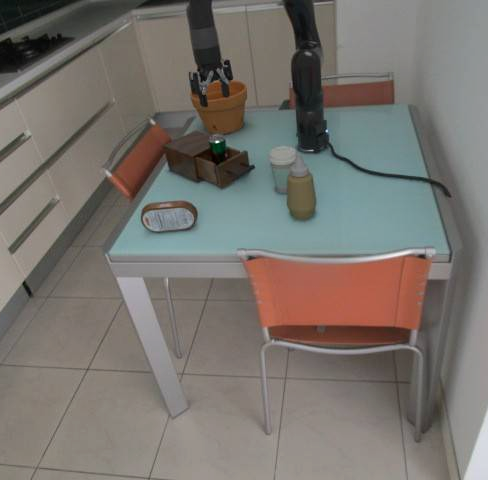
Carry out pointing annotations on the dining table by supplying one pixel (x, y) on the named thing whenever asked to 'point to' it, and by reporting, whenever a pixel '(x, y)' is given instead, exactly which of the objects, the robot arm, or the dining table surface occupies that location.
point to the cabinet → (187, 154)
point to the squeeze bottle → (300, 190)
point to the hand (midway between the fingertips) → (215, 101)
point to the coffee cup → (281, 165)
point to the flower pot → (222, 107)
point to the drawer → (224, 167)
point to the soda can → (218, 148)
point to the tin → (169, 216)
